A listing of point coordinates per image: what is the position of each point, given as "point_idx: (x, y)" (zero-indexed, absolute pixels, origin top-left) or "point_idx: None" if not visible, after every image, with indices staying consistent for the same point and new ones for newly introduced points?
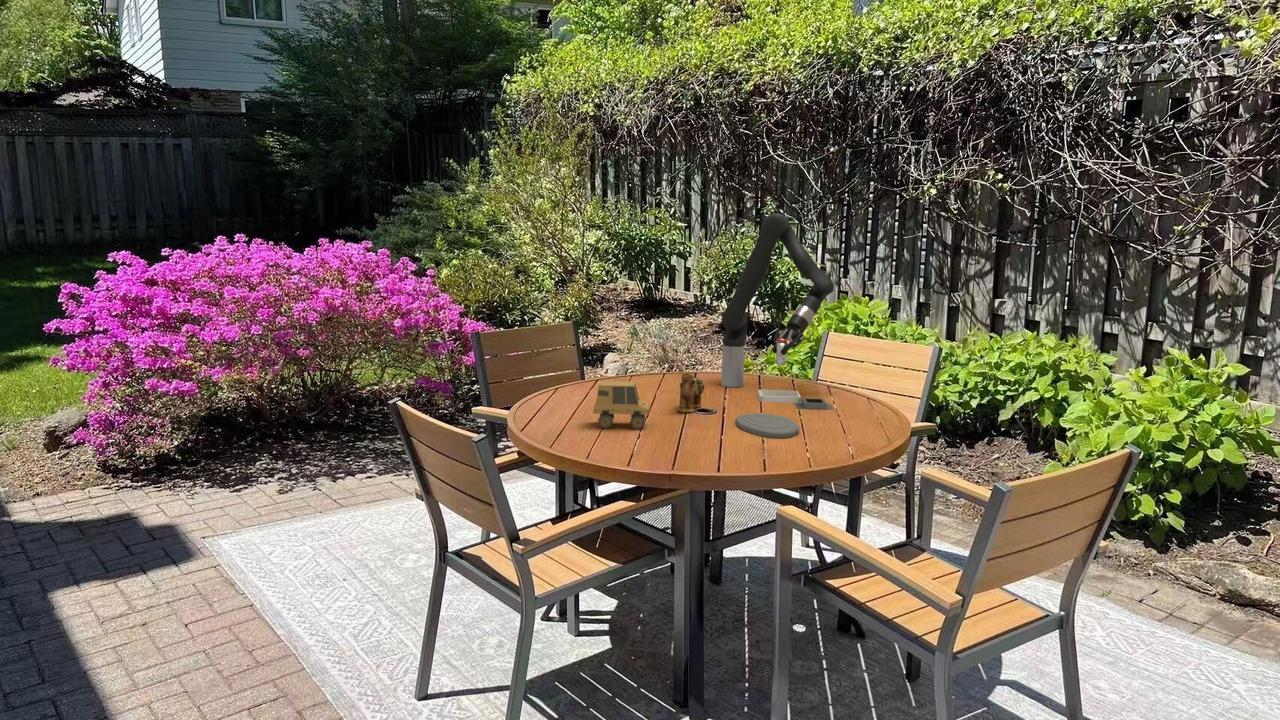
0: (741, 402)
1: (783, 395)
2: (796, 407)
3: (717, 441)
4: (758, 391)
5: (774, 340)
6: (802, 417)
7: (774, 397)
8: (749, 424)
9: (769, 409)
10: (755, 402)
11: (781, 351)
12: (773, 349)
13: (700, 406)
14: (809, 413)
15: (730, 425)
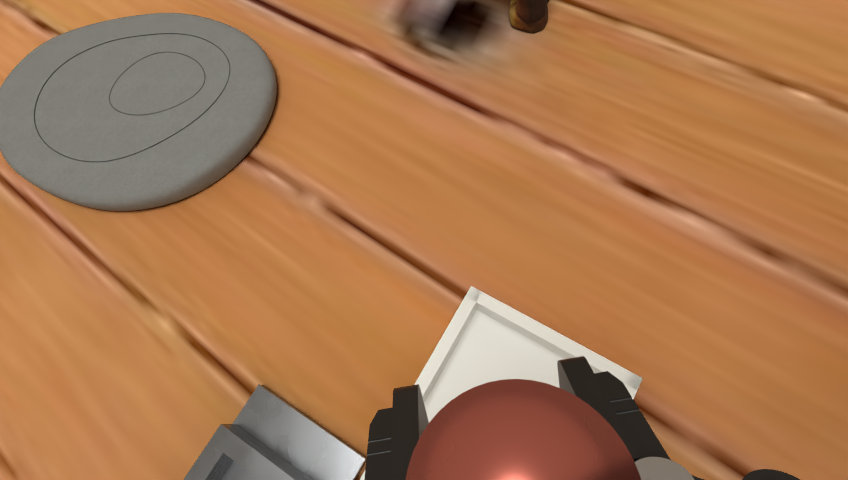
0: (535, 224)
1: None
2: (280, 401)
3: None
4: (616, 365)
5: (749, 473)
6: (161, 329)
7: (430, 357)
8: (138, 25)
9: (354, 273)
10: (509, 290)
11: (400, 387)
12: (562, 364)
13: (511, 22)
14: (192, 415)
15: (236, 18)
